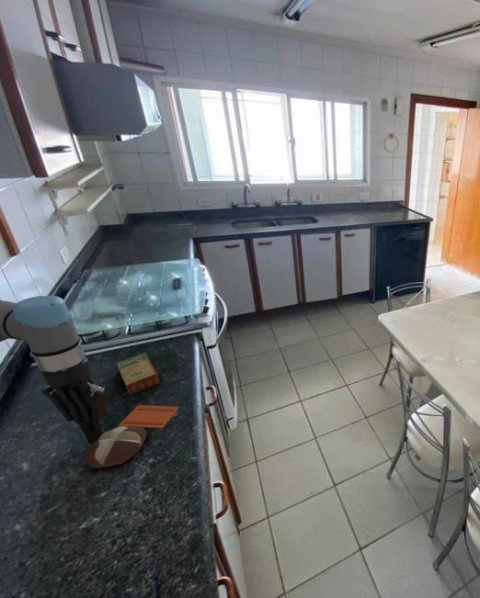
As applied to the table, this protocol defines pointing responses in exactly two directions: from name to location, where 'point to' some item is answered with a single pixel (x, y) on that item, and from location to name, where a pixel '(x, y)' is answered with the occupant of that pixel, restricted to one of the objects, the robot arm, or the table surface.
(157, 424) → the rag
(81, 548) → the table surface
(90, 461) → the bread
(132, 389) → the carton
